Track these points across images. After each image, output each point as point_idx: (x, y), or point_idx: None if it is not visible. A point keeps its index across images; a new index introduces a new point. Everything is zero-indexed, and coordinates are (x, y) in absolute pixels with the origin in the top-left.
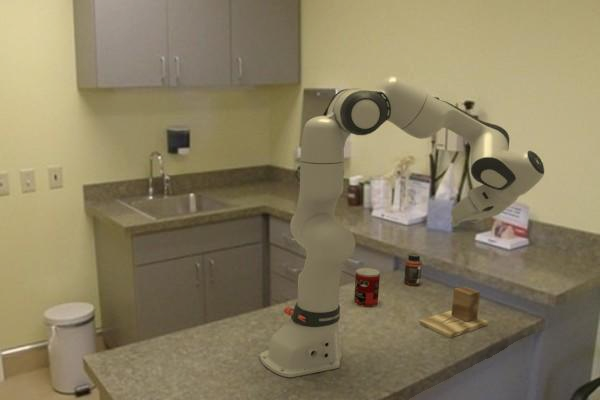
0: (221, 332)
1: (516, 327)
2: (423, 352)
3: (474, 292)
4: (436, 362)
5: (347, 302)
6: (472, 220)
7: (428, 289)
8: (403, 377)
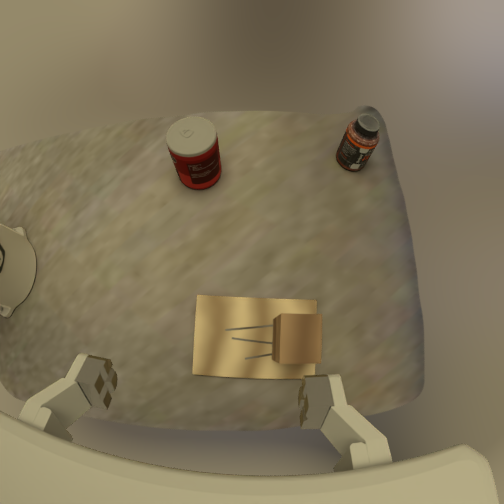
0: (6, 168)
1: None
2: None
3: (303, 359)
4: None
5: None
6: (302, 385)
7: (357, 193)
8: None
